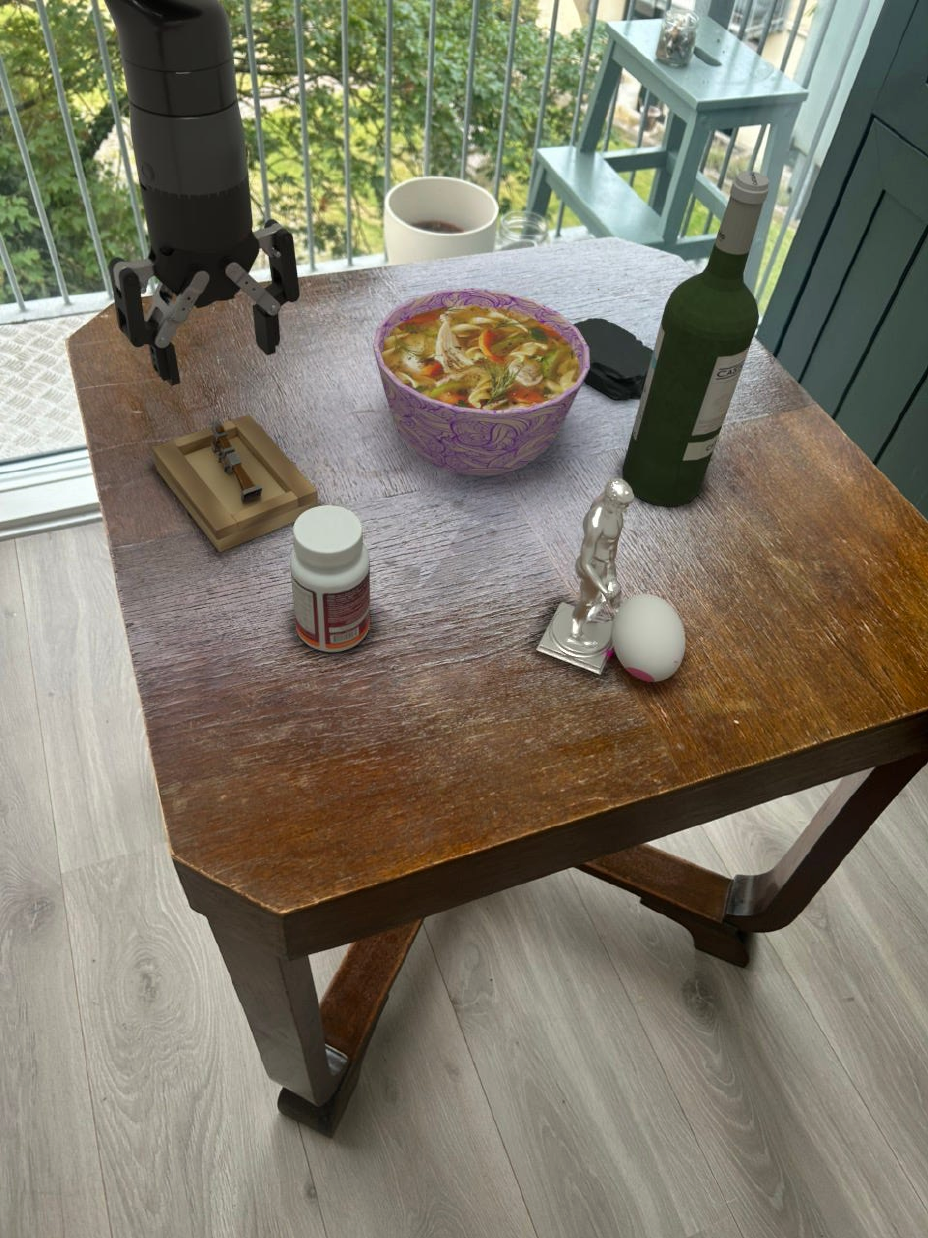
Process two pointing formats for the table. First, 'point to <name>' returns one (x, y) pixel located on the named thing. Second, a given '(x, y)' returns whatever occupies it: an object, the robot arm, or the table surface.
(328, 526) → the pill bottle
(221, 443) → the wooden post with brackets
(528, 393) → the bowl of food
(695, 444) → the wine bottle
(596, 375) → the stone
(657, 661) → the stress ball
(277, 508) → the holder
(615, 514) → the figurine
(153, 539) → the table surface
